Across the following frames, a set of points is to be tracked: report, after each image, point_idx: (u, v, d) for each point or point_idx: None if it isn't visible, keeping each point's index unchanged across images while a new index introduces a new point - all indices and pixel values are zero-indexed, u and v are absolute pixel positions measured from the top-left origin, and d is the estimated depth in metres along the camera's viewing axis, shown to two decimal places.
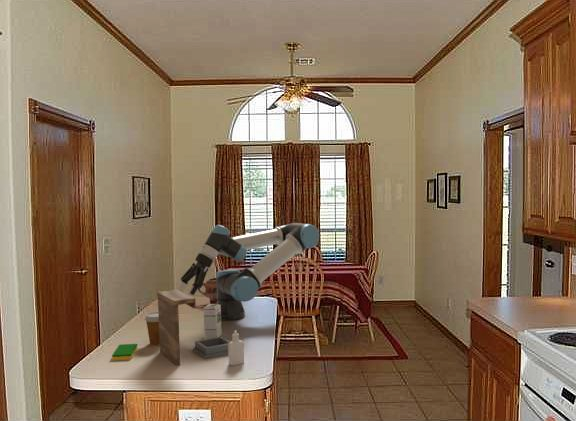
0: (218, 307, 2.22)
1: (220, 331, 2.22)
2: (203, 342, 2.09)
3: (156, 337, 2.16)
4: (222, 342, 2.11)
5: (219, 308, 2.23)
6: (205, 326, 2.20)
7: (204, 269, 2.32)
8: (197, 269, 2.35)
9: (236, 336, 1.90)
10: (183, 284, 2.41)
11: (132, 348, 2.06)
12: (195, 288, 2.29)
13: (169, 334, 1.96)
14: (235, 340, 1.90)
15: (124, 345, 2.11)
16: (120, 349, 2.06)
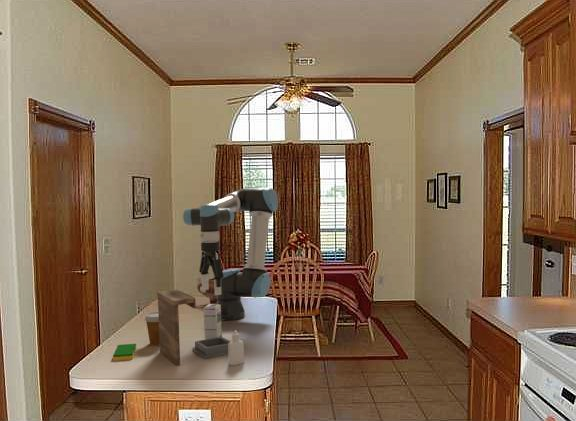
0: (218, 307, 2.22)
1: (220, 331, 2.22)
2: (203, 342, 2.09)
3: (156, 337, 2.16)
4: (222, 342, 2.11)
5: (219, 308, 2.23)
6: (205, 326, 2.20)
7: (216, 257, 2.15)
8: (209, 260, 2.18)
9: (236, 336, 1.90)
10: (205, 276, 2.27)
11: (132, 348, 2.07)
12: (218, 280, 2.14)
13: (169, 334, 1.96)
14: (235, 340, 1.90)
15: (123, 345, 2.11)
16: (120, 349, 2.05)
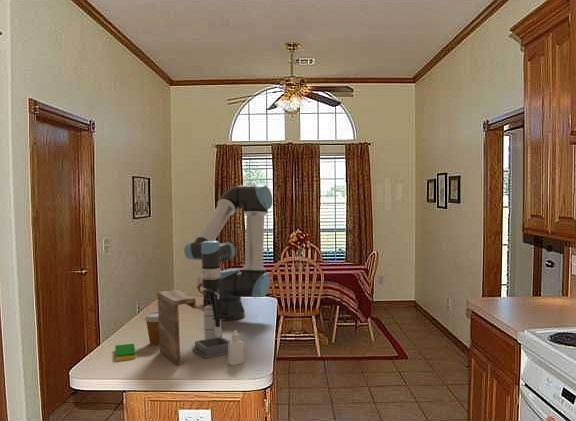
0: None
1: (220, 331, 2.22)
2: (203, 342, 2.09)
3: (156, 337, 2.16)
4: (222, 342, 2.11)
5: None
6: (205, 326, 2.20)
7: (217, 298, 2.16)
8: (210, 297, 2.19)
9: (236, 336, 1.90)
10: None
11: (132, 348, 2.07)
12: (218, 320, 2.17)
13: (169, 334, 1.96)
14: (235, 340, 1.90)
15: (121, 345, 2.10)
16: (120, 349, 2.05)
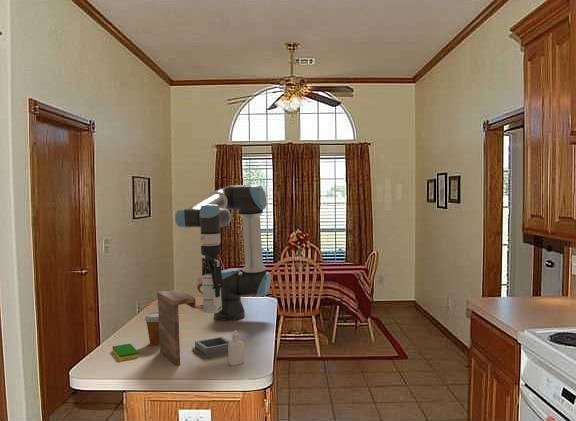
0: None
1: None
2: (203, 342, 2.09)
3: (156, 337, 2.16)
4: (222, 342, 2.11)
5: None
6: (204, 296, 2.03)
7: (217, 265, 1.99)
8: (209, 265, 2.02)
9: (236, 336, 1.90)
10: None
11: (132, 347, 2.07)
12: (217, 289, 2.01)
13: (169, 334, 1.96)
14: (235, 340, 1.90)
15: (119, 346, 2.10)
16: (120, 349, 2.05)
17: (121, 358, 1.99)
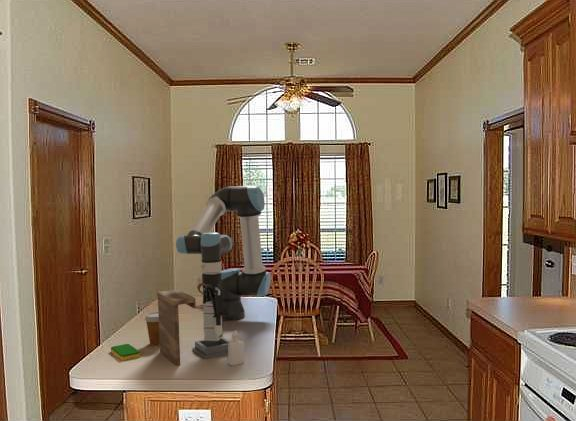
0: None
1: None
2: (203, 342, 2.09)
3: (156, 337, 2.16)
4: (222, 342, 2.11)
5: None
6: (205, 324, 2.04)
7: (218, 294, 2.00)
8: (210, 293, 2.03)
9: (236, 336, 1.90)
10: None
11: (131, 347, 2.08)
12: (218, 318, 2.01)
13: (169, 334, 1.96)
14: (235, 340, 1.90)
15: (118, 346, 2.09)
16: (120, 350, 2.05)
17: (123, 358, 1.99)
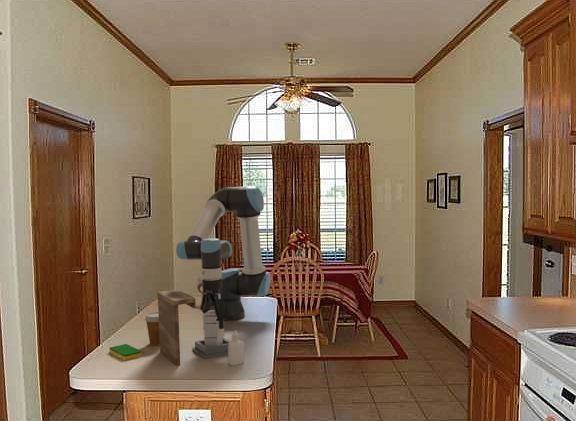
0: None
1: (221, 340, 2.07)
2: (203, 342, 2.09)
3: (156, 337, 2.16)
4: None
5: None
6: (205, 334, 2.04)
7: (218, 297, 2.00)
8: (211, 299, 2.03)
9: (236, 336, 1.90)
10: None
11: (131, 347, 2.08)
12: (221, 321, 1.99)
13: (169, 334, 1.96)
14: (235, 340, 1.90)
15: (116, 347, 2.09)
16: (120, 350, 2.05)
17: (126, 357, 1.99)
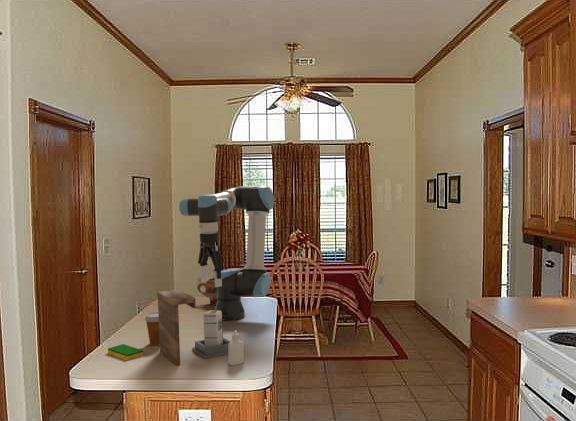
0: (219, 313, 2.06)
1: (221, 340, 2.07)
2: (203, 342, 2.09)
3: (156, 337, 2.16)
4: None
5: (220, 315, 2.07)
6: (205, 334, 2.04)
7: (215, 249, 2.11)
8: (208, 251, 2.14)
9: (236, 336, 1.90)
10: (204, 267, 2.23)
11: (130, 347, 2.08)
12: (219, 272, 2.11)
13: (169, 334, 1.96)
14: (235, 340, 1.90)
15: (115, 347, 2.08)
16: (121, 350, 2.05)
17: (128, 357, 1.99)
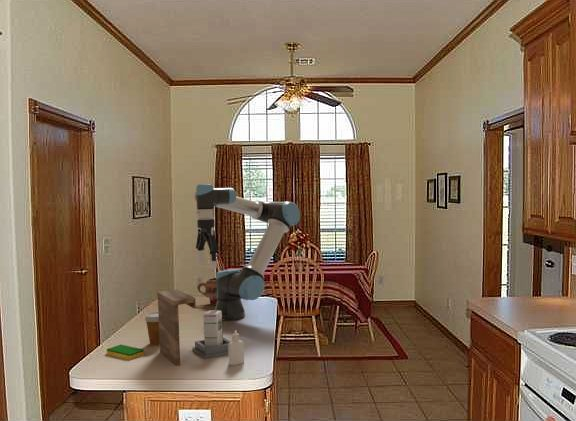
0: (219, 313, 2.06)
1: (221, 340, 2.07)
2: (203, 342, 2.09)
3: (156, 337, 2.16)
4: None
5: (220, 315, 2.07)
6: (205, 334, 2.04)
7: (211, 233, 2.29)
8: (205, 236, 2.31)
9: (236, 336, 1.90)
10: (201, 252, 2.41)
11: (130, 347, 2.08)
12: (214, 254, 2.28)
13: (169, 334, 1.96)
14: (235, 340, 1.90)
15: (114, 348, 2.08)
16: (121, 350, 2.04)
17: (131, 357, 2.00)
